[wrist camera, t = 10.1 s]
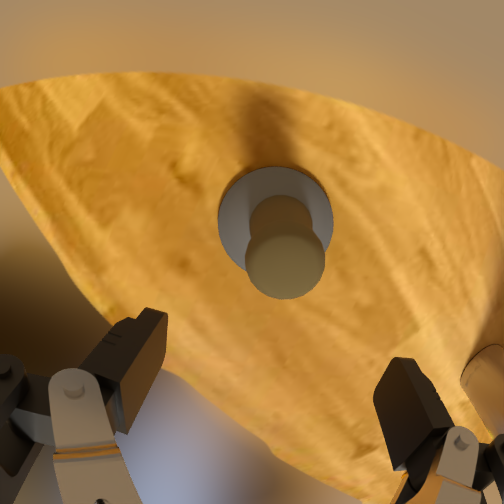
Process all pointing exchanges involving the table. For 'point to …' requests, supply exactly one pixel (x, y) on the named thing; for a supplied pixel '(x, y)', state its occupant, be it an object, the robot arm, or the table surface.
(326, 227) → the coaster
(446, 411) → the robot arm
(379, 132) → the table surface
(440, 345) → the table surface
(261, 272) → the olive game pawn
